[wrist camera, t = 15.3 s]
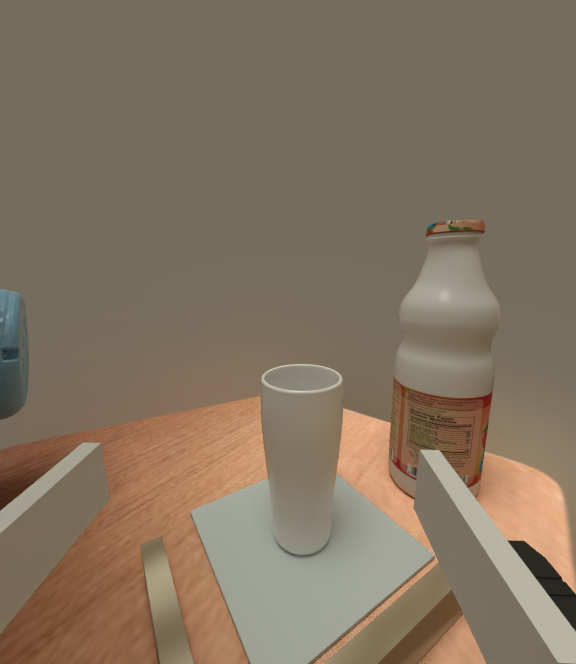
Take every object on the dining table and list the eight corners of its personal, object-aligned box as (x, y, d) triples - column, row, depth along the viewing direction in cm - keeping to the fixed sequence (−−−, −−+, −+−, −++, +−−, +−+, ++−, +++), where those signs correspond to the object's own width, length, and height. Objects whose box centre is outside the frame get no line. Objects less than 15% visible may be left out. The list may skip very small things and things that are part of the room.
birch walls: (145, 582, 24) (140, 544, 23) (361, 473, 36) (362, 446, 35) (198, 907, 11) (191, 849, 11) (496, 575, 24) (502, 538, 23)
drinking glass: (339, 508, 30) (343, 365, 27) (339, 574, 24) (344, 395, 21) (273, 500, 31) (270, 361, 28) (255, 560, 25) (249, 389, 22)
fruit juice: (373, 460, 38) (385, 228, 32) (437, 449, 40) (459, 230, 34) (421, 519, 29) (449, 213, 23) (501, 501, 31) (544, 216, 26)
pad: (190, 513, 30) (190, 510, 30) (317, 459, 38) (317, 457, 38) (265, 703, 17) (265, 700, 17) (434, 558, 25) (434, 555, 25)
